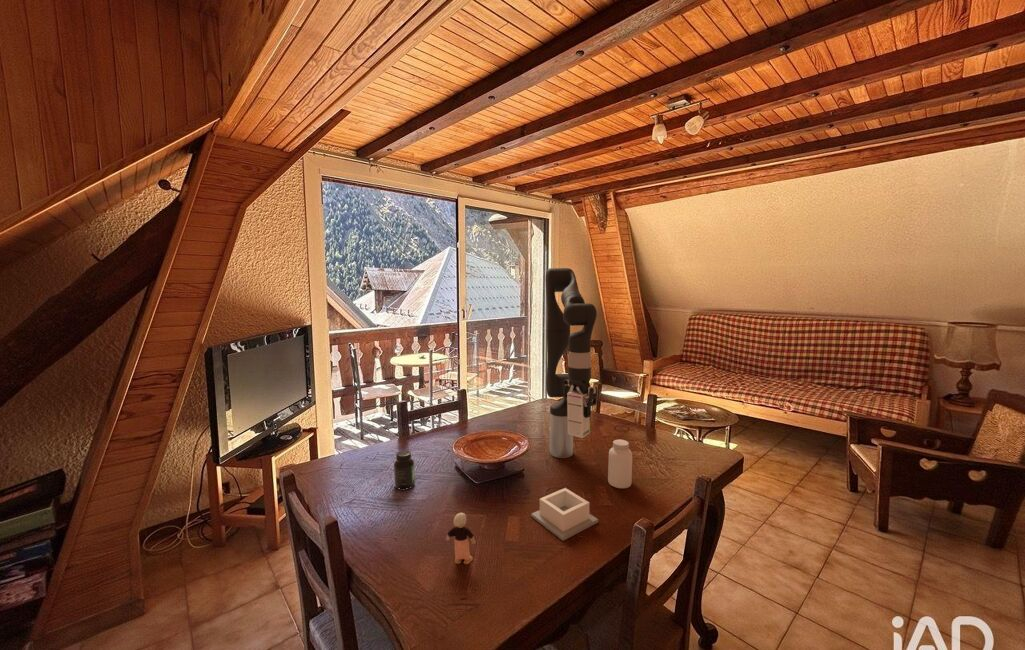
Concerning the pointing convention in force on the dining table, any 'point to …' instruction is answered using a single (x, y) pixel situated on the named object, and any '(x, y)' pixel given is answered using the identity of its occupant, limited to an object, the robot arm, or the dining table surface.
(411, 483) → the supplement bottle
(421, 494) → the dining table surface
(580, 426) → the syrup box
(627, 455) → the pill bottle
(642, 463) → the dining table surface
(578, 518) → the socket
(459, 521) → the grandmother figurine
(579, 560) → the dining table surface
